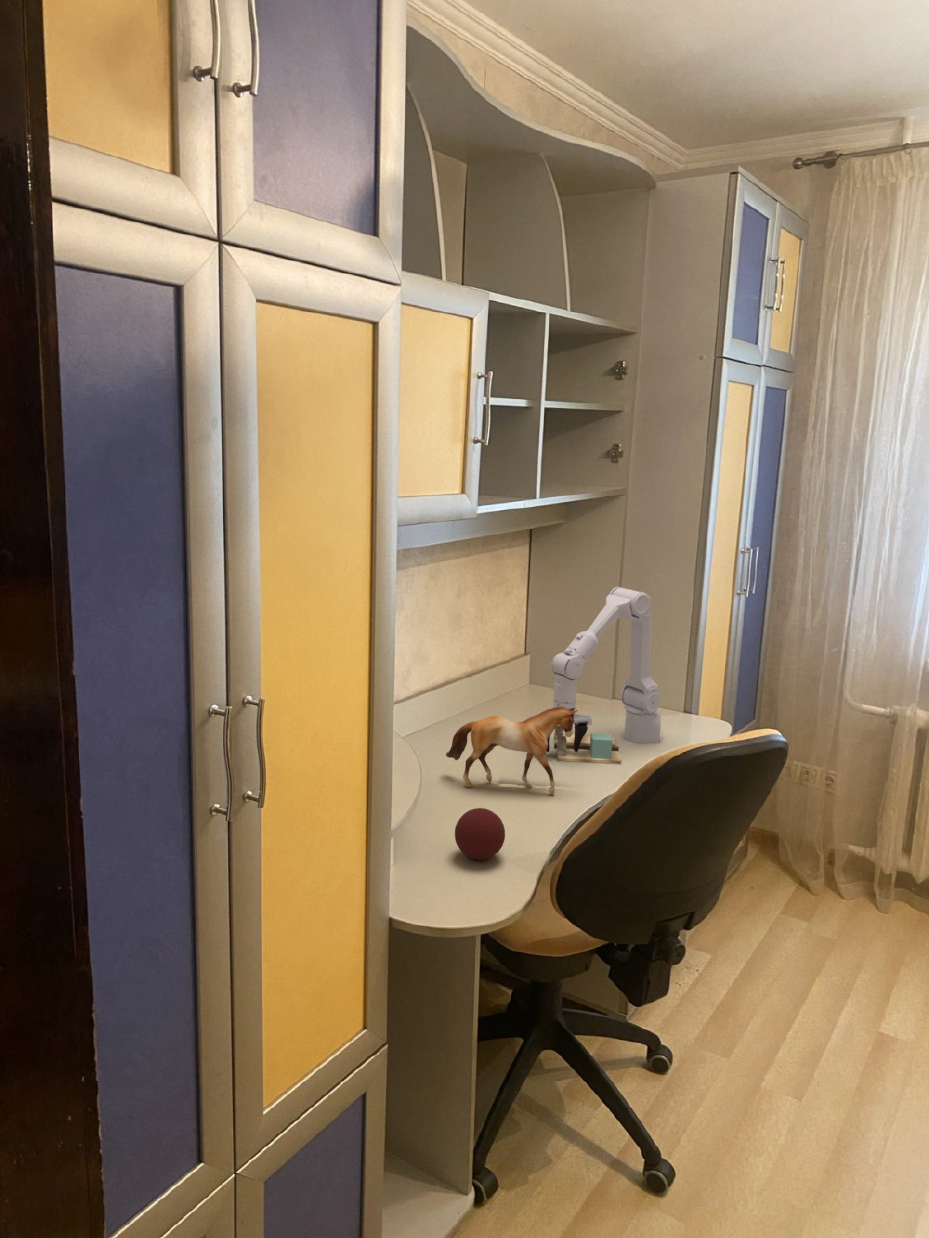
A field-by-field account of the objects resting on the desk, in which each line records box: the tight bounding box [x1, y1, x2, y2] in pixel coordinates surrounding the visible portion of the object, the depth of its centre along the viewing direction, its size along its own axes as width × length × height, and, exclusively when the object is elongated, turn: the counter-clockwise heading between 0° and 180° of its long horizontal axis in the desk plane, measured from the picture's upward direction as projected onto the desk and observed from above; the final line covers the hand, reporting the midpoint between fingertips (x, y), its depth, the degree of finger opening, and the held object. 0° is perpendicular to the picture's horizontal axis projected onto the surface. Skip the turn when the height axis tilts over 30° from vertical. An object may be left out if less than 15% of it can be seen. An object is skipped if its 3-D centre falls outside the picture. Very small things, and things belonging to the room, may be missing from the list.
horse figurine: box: [445, 706, 578, 796], centre depth 216 cm, size 31×8×21 cm, turn 78°
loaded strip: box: [555, 736, 622, 765], centre depth 237 cm, size 16×7×5 cm, turn 88°
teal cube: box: [590, 732, 612, 759], centre depth 236 cm, size 5×5×5 cm
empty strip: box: [553, 725, 616, 746], centre depth 248 cm, size 16×7×5 cm, turn 88°
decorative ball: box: [454, 807, 506, 861], centre depth 182 cm, size 10×10×10 cm
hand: (561, 750), depth 237 cm, fingers open, 7 cm apart
